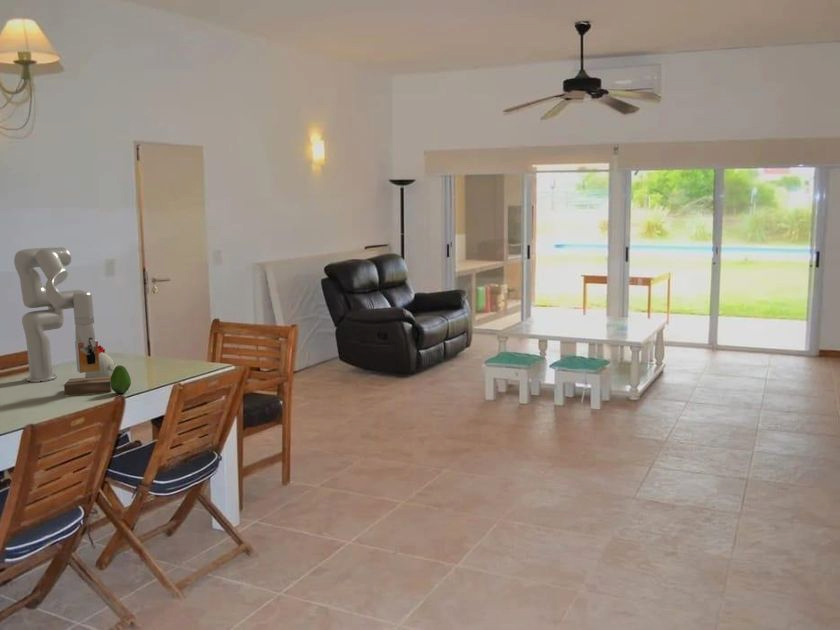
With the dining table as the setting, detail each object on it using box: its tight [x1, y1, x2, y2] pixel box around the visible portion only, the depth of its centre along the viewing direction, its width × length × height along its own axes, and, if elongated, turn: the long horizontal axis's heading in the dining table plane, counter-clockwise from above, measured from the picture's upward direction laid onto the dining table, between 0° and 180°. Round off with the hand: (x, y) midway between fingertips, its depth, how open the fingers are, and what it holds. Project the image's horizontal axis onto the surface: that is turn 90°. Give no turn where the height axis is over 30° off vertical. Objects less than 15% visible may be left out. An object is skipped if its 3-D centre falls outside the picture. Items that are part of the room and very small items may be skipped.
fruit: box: [110, 365, 132, 394], centre depth 332 cm, size 8×8×12 cm
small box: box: [74, 339, 100, 374], centre depth 337 cm, size 8×6×13 cm
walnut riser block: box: [63, 376, 113, 396], centre depth 339 cm, size 12×18×5 cm, turn 103°
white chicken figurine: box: [84, 345, 117, 378], centre depth 363 cm, size 14×14×15 cm
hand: (87, 362), depth 337 cm, fingers closed on small box, 6 cm apart
